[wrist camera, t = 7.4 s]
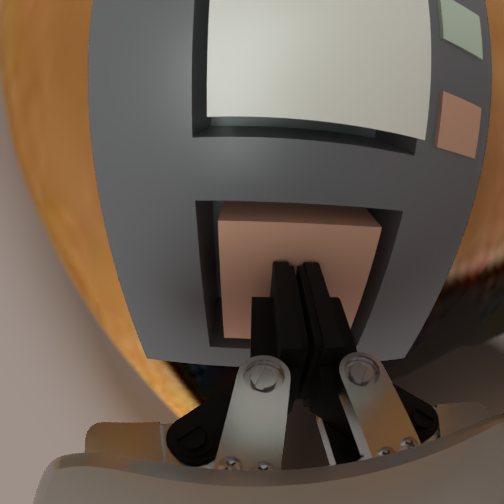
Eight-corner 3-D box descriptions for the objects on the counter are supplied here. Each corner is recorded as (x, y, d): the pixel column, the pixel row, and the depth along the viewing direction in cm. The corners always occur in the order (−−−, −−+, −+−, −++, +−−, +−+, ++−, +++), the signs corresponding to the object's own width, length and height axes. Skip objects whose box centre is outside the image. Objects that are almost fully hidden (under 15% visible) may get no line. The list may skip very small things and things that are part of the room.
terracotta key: (355, 197, 11) (381, 227, 9) (334, 295, 14) (347, 337, 12) (227, 190, 11) (217, 220, 9) (229, 294, 14) (224, 337, 12)
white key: (383, -7, 5) (423, -30, 3) (380, 125, 8) (424, 140, 6) (226, -28, 5) (215, -68, 3) (222, 111, 8) (206, 117, 6)
